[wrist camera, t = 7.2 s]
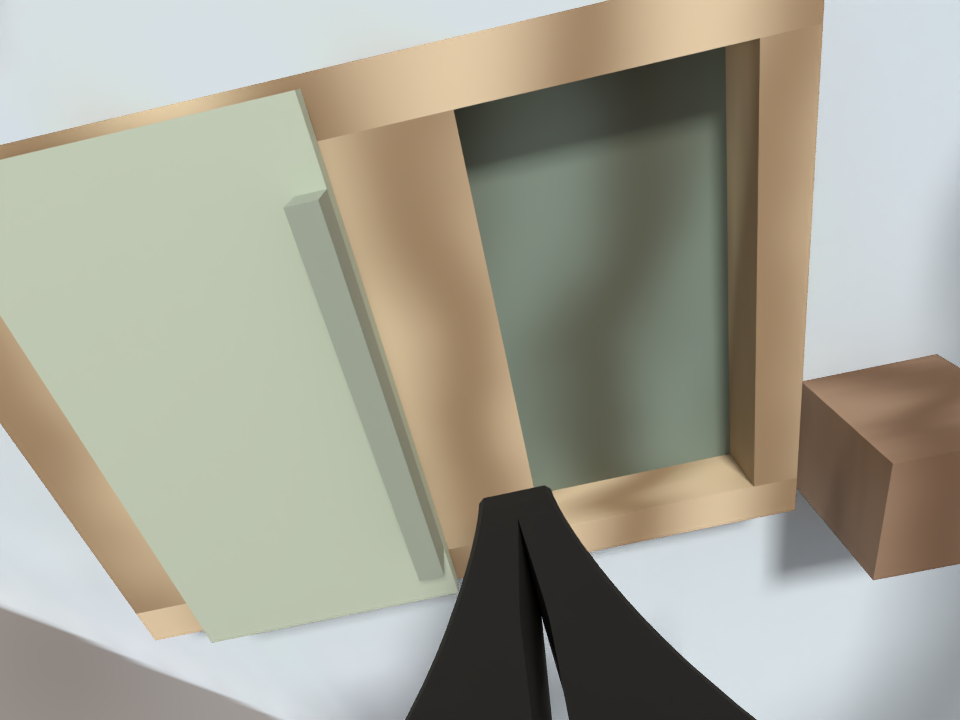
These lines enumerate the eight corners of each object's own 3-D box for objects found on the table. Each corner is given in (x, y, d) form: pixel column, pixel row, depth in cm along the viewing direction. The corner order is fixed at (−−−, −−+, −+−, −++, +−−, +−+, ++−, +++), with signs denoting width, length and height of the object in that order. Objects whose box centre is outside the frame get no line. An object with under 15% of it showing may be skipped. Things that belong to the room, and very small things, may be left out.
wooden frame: (769, -36, 16) (827, -52, 13) (759, 465, 23) (795, 509, 21) (-86, 167, 16) (-169, 185, 14) (182, 585, 24) (155, 640, 22)
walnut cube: (935, 353, 22) (1063, 430, 17) (915, 459, 24) (1023, 551, 20) (800, 380, 22) (892, 463, 17) (793, 483, 24) (873, 580, 20)
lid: (300, 88, 14) (282, 93, 12) (457, 579, 21) (459, 621, 20) (-68, 175, 14) (-132, 191, 12) (217, 628, 22) (199, 674, 20)
